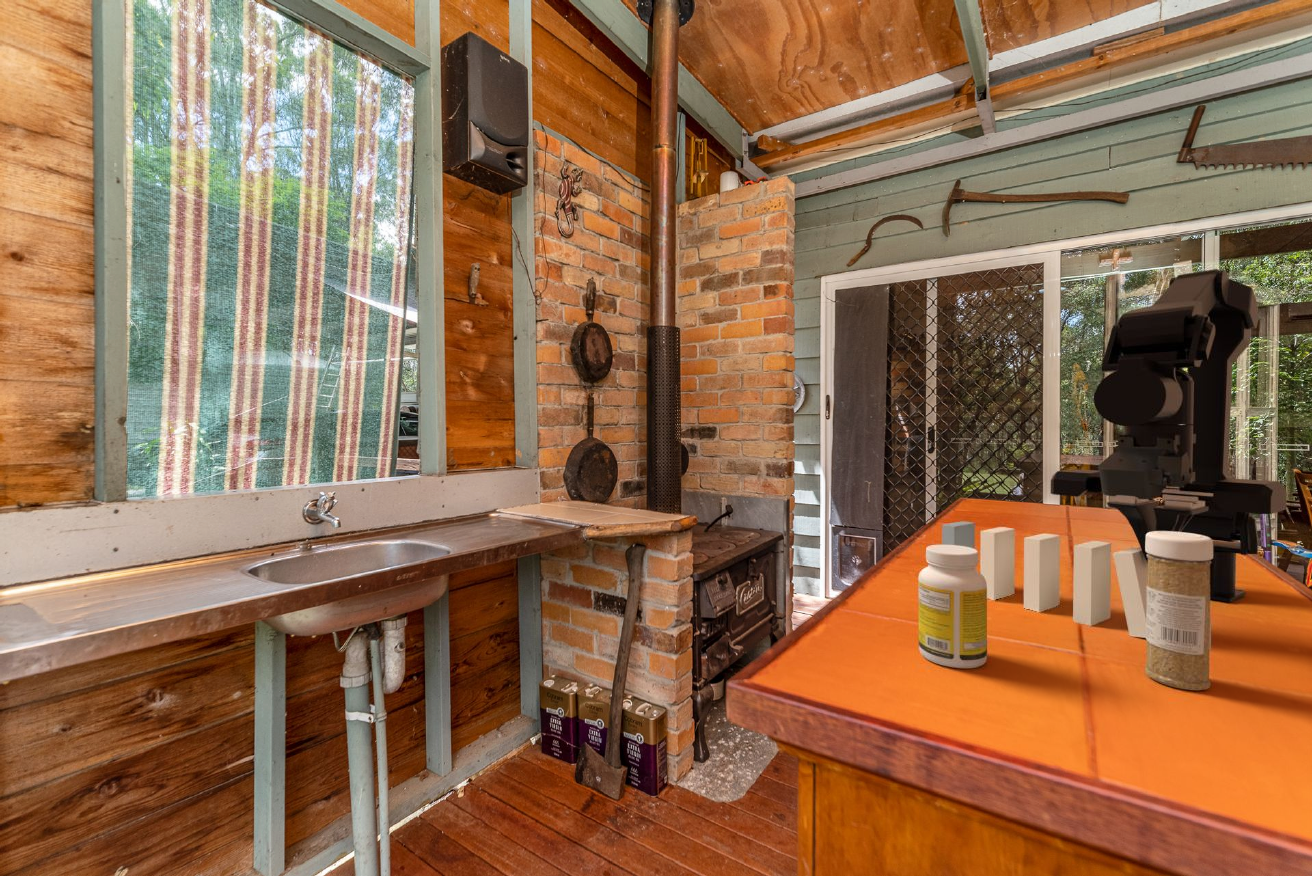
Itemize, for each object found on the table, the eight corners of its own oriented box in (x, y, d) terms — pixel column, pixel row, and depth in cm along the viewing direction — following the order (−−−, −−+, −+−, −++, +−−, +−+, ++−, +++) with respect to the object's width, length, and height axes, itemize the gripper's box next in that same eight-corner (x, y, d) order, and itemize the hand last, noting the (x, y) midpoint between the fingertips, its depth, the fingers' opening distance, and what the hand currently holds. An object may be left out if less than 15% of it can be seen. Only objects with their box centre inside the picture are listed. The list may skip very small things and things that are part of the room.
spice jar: (1217, 683, 52) (1220, 535, 52) (1201, 697, 50) (1204, 541, 49) (1153, 666, 56) (1155, 527, 56) (1135, 678, 54) (1137, 533, 53)
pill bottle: (980, 649, 61) (980, 544, 60) (993, 674, 55) (994, 558, 55) (915, 642, 63) (915, 540, 62) (921, 665, 57) (921, 553, 57)
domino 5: (1129, 636, 64) (1112, 553, 65) (1148, 627, 66) (1132, 547, 68) (1149, 638, 62) (1132, 553, 63) (1168, 629, 65) (1151, 547, 66)
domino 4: (1073, 621, 69) (1073, 545, 68) (1092, 613, 71) (1093, 540, 71) (1090, 626, 67) (1091, 548, 67) (1110, 617, 70) (1111, 543, 69)
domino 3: (1023, 608, 73) (1024, 537, 73) (1044, 601, 76) (1044, 533, 76) (1039, 612, 72) (1039, 540, 71) (1059, 605, 74) (1059, 535, 74)
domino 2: (980, 597, 78) (980, 530, 78) (1000, 591, 81) (1001, 526, 80) (993, 601, 76) (994, 533, 76) (1014, 594, 79) (1014, 528, 79)
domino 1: (941, 587, 83) (942, 524, 82) (962, 582, 85) (962, 521, 85) (953, 590, 81) (954, 526, 81) (974, 585, 84) (974, 522, 83)
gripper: (1027, 425, 67) (1026, 560, 68) (1253, 426, 51) (1249, 602, 52) (1073, 424, 73) (1072, 548, 73) (1289, 424, 57) (1286, 583, 57)
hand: (1155, 567), depth 64 cm, fingers closed
